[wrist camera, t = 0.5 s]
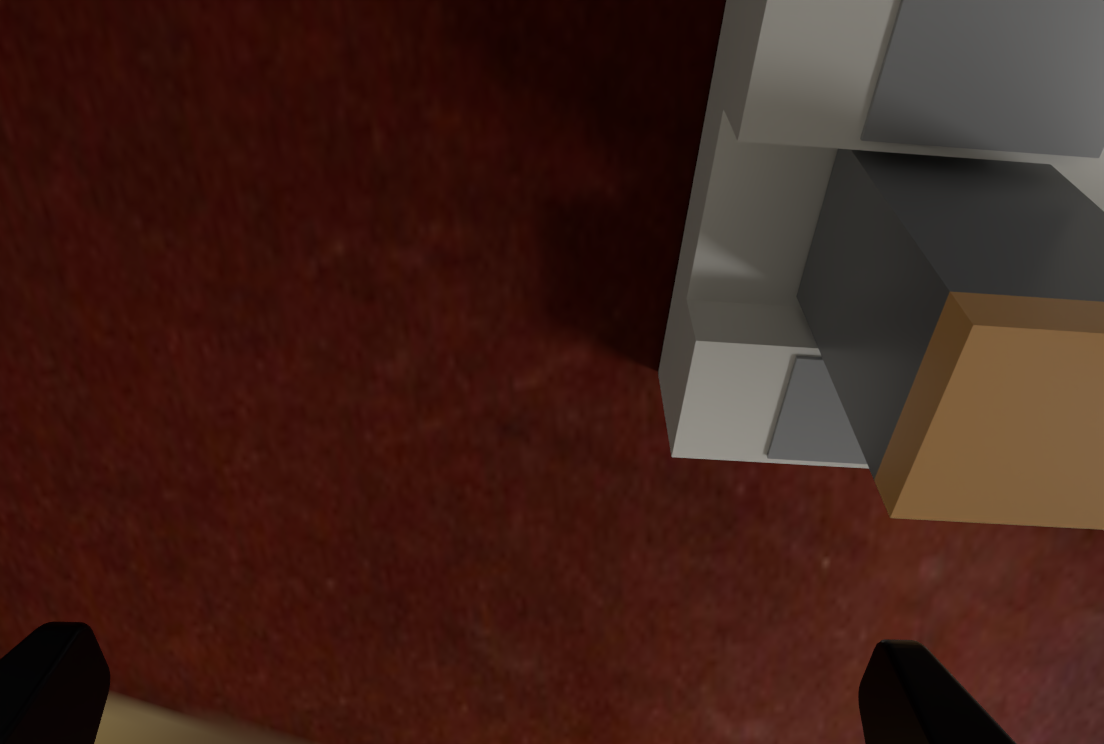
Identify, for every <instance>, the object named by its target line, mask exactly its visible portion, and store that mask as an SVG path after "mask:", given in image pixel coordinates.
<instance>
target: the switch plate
mask: <svg viewBox="0 0 1104 744" xmlns="http://www.w3.org/2000/svg"><path fill="white" fill-rule="evenodd" d="M838 149H851V150H865V151H878V152H892V153H905V154H919V155H933V156H946V157H960V158H973V159H987V160H1001V161H1014V162H1028V163H1042V164H1051V165H1052V166H1053V167H1054V168H1055V169H1056V170H1057V171H1059V172H1060V173H1061V174H1062V175H1063V176H1064V177H1065V178H1067V179H1068V180H1069V181H1070V182H1071V183H1072V184H1073V185H1074V186H1076V187H1077V188H1078V189H1079V190H1080V191H1081V192H1082V193H1084V194H1085V195H1086V196H1087V197H1088V198H1089V199H1090V200H1091V201H1093V202H1094V203H1095V204H1096V205H1097V206H1098V207H1099V208H1100V209H1102V210H1103V211H1104V0H726V5H725V10H724V16H723V21H722V27H721V32H720V38H719V43H718V48H717V54H716V59H715V65H714V70H713V76H712V81H711V87H710V92H709V98H708V103H707V109H706V114H705V120H704V125H703V131H702V136H701V141H700V147H699V152H698V158H697V163H696V169H695V174H694V180H693V185H692V191H691V196H690V202H689V207H688V213H687V218H686V224H685V229H684V234H683V240H682V245H681V251H680V256H679V262H678V267H677V273H676V278H675V284H674V289H673V295H672V300H671V306H670V311H669V317H668V322H667V327H666V333H665V338H664V344H663V349H662V355H661V360H660V366H659V371H658V375H659V381H660V387H661V394H662V400H663V406H664V412H665V419H666V425H667V431H668V437H669V444H670V450H671V456H672V457H680V458H697V459H715V460H732V461H750V462H767V463H784V464H802V465H819V466H836V467H854V468H869V467H868V464H867V462H866V460H865V457H864V455H863V453H862V450H861V448H860V446H859V443H858V441H857V439H856V436H855V434H854V431H853V429H852V427H851V424H850V422H849V420H848V417H847V415H846V413H845V410H844V408H843V405H842V403H841V401H840V398H839V396H838V394H837V391H836V389H835V387H834V384H833V382H832V380H831V377H830V375H829V372H828V370H827V368H826V365H825V363H824V361H823V358H822V356H821V354H820V351H819V349H818V347H817V344H816V342H815V339H814V337H813V335H812V332H811V330H810V328H809V325H808V323H807V321H806V318H805V316H804V313H803V311H802V309H801V306H800V304H799V302H798V299H797V297H796V296H797V293H798V289H799V285H800V282H801V278H802V275H803V271H804V268H805V264H806V261H807V257H808V253H809V250H810V246H811V243H812V239H813V236H814V232H815V229H816V225H817V221H818V218H819V214H820V211H821V207H822V204H823V200H824V197H825V193H826V189H827V186H828V182H829V179H830V175H831V172H832V168H833V165H834V161H835V157H836V154H837V150H838Z"/></svg>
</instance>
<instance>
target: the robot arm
mask: <svg viewBox="0 0 1104 744" xmlns="http://www.w3.org/2000/svg"><path fill="white" fill-rule="evenodd" d="M109 687H110V671H109V667H108V665H107V662H106V660H105V658H104V655H103V653H102V651H101V649H100V646H99V644H98V642H97V640H96V637H95V635H94V633H93V630H92V629H91V627H90V626H88V625H87V624H85V623H83V622H49V623H46V624H43V625H42V626H40V627H38V628H37V629H35V630H34V631H33V632H32V633H31V634H29V635H28V636H27V637H26V638H25V639H24V640H22V641H21V642H20V643H19V644H18V645H17V646H15V647H14V648H13V649H12V650H11V651H9V652H8V653H7V654H6V655H5V656H4V657H2V658H1V659H0V744H94V742H95V739H96V735H97V732H98V728H99V724H100V721H101V717H102V714H103V710H104V707H105V703H106V700H107V696H108V692H109ZM858 698H859V709H860V715H861V720H862V726H863V732H864V737H865V743H866V744H1016V743H1015V742H1014V741H1013V740H1012V739H1011V737H1010V736H1009V735H1008V734H1007V733H1006V732H1005V731H1004V730H1003V729H1002V728H1001V727H1000V726H999V725H998V724H997V722H996V721H995V720H994V719H993V718H992V717H991V716H990V715H989V714H988V713H987V712H986V711H985V710H984V709H983V708H982V706H981V705H980V704H979V703H978V702H977V701H976V700H975V699H974V698H973V697H972V696H971V695H970V694H969V693H968V691H967V690H966V689H965V688H964V687H963V686H962V685H961V684H960V683H959V682H958V681H957V680H956V679H955V678H954V676H953V675H952V674H951V673H950V672H949V671H948V670H947V669H946V668H945V667H944V666H943V665H942V664H941V663H940V662H939V660H938V659H937V658H936V657H935V656H934V655H933V654H932V653H931V652H930V651H929V650H928V649H927V648H926V647H925V646H924V645H922V644H921V643H919V642H917V641H913V640H882V641H880V642H879V643H878V644H877V645H876V647H875V649H874V651H873V653H872V656H871V658H870V661H869V663H868V666H867V668H866V670H865V673H864V675H863V678H862V680H861V683H860V686H859V696H858Z"/></svg>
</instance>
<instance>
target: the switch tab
mask: <svg viewBox="0 0 1104 744" xmlns="http://www.w3.org/2000/svg"><path fill="white" fill-rule="evenodd" d="M796 297H797V299H798V302H799V304H800V306H801V309H802V311H803V313H804V316H805V318H806V321H807V323H808V325H809V328H810V330H811V332H812V335H813V337H814V339H815V342H816V344H817V347H818V349H819V351H820V354H821V356H822V358H823V361H824V363H825V365H826V368H827V370H828V372H829V375H830V377H831V380H832V382H833V384H834V387H835V389H836V391H837V394H838V396H839V398H840V401H841V403H842V405H843V408H844V410H845V413H846V415H847V417H848V420H849V422H850V424H851V427H852V429H853V431H854V434H855V436H856V439H857V441H858V443H859V446H860V448H861V450H862V453H863V455H864V457H865V460H866V462H867V464H868V467H869V469H870V472H871V474H872V476H873V479H874V481H875V483H876V486H877V488H878V490H879V493H880V495H881V497H882V500H883V502H884V505H885V507H886V509H887V512H888V514H889V516H890V518H902V519H920V520H938V521H956V522H974V523H992V524H1010V525H1028V526H1046V527H1064V528H1083V529H1101V530H1104V211H1103V210H1102V209H1100V208H1099V207H1098V206H1097V205H1096V204H1095V203H1094V202H1093V201H1091V200H1090V199H1089V198H1088V197H1087V196H1086V195H1085V194H1084V193H1082V192H1081V191H1080V190H1079V189H1078V188H1077V187H1076V186H1074V185H1073V184H1072V183H1071V182H1070V181H1069V180H1068V179H1067V178H1065V177H1064V176H1063V175H1062V174H1061V173H1060V172H1059V171H1057V170H1056V169H1055V168H1054V167H1053V166H1052V165H1051V164H1042V163H1028V162H1014V161H1001V160H987V159H973V158H960V157H946V156H933V155H919V154H905V153H892V152H878V151H865V150H851V149H838V150H837V154H836V157H835V161H834V165H833V168H832V172H831V175H830V179H829V182H828V186H827V189H826V193H825V197H824V200H823V204H822V207H821V211H820V214H819V218H818V221H817V225H816V229H815V232H814V236H813V239H812V243H811V246H810V250H809V253H808V257H807V261H806V264H805V268H804V271H803V275H802V278H801V282H800V285H799V289H798V293H797V296H796Z"/></svg>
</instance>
